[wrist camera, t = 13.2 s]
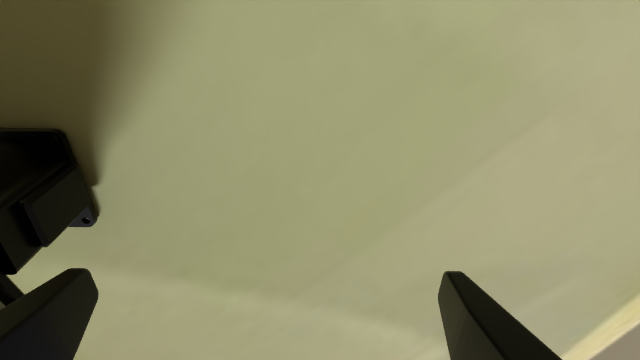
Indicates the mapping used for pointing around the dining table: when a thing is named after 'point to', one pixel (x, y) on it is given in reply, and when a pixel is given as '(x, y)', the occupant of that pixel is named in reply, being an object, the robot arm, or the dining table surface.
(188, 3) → the dining table surface
